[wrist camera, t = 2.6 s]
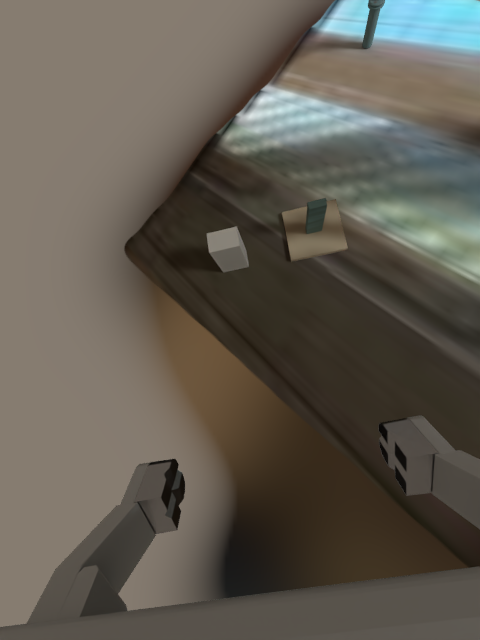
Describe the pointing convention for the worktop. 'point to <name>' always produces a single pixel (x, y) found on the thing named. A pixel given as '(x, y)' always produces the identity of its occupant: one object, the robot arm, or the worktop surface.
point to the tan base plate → (314, 230)
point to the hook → (372, 21)
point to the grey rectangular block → (227, 249)
